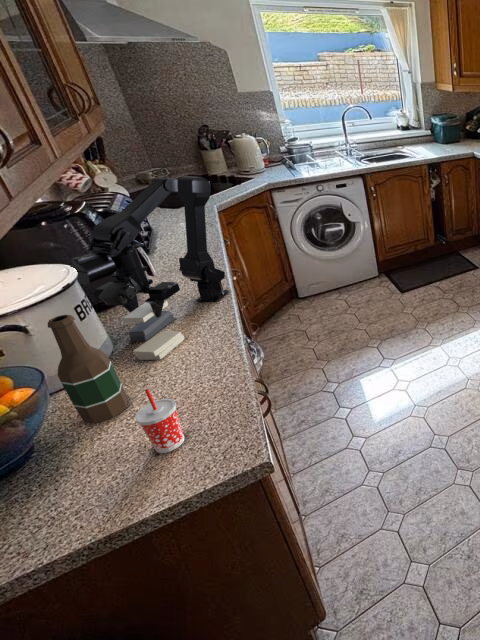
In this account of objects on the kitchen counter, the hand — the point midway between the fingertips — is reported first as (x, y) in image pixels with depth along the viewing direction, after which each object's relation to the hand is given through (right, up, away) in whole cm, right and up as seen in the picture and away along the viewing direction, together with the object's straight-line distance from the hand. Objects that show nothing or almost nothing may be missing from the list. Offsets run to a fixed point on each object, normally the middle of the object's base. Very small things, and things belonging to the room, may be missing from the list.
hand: (148, 316), depth 116 cm
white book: (0, +1, -1) cm, 1 cm away
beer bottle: (+14, -17, -26) cm, 34 cm away
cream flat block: (+9, -8, -6) cm, 13 cm away
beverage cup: (+34, -21, -33) cm, 52 cm away
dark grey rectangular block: (0, -4, +2) cm, 4 cm away
